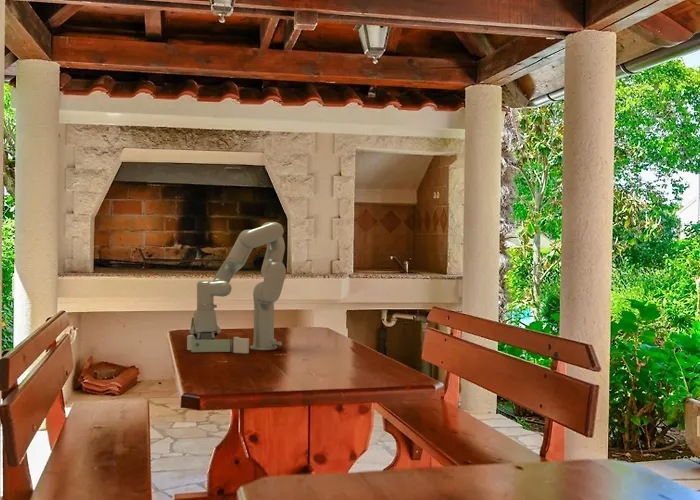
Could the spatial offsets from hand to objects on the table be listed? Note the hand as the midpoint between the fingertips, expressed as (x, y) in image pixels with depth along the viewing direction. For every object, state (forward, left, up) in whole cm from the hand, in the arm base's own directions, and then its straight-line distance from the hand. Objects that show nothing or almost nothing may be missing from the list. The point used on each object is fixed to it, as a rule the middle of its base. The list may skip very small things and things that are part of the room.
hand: (205, 346), depth 347 cm
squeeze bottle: (+16, -26, -2) cm, 31 cm away
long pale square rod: (-5, +3, -2) cm, 6 cm away
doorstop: (0, 0, -2) cm, 2 cm away
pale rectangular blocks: (-6, -1, -2) cm, 6 cm away
